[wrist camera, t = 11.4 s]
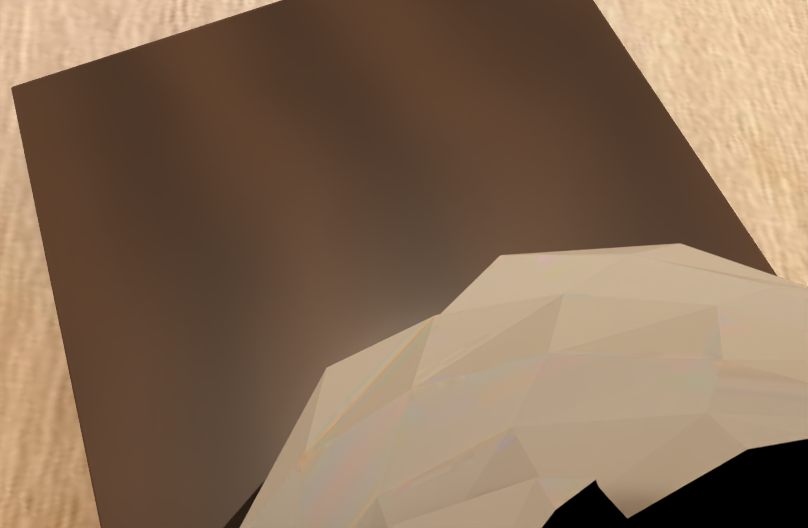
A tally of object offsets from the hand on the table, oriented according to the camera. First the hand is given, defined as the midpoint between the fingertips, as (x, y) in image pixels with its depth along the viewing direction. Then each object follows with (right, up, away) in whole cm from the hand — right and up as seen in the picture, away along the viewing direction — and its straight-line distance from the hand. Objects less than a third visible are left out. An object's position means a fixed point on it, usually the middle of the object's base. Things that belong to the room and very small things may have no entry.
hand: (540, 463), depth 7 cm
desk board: (-1, +1, +12) cm, 12 cm away
